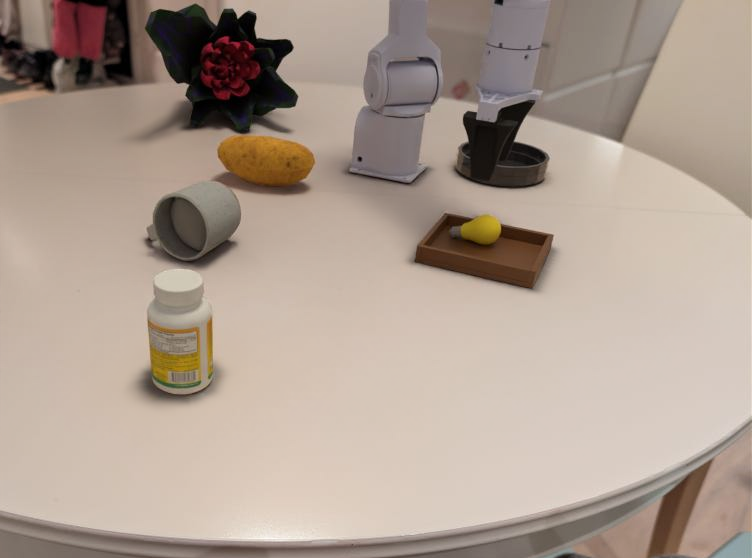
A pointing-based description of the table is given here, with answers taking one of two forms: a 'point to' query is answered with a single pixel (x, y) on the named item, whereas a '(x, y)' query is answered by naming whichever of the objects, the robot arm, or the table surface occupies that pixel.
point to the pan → (510, 166)
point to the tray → (486, 252)
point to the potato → (266, 159)
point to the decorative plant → (222, 63)
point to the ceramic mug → (195, 219)
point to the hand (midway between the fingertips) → (488, 168)
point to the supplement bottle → (180, 332)
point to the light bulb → (478, 230)
